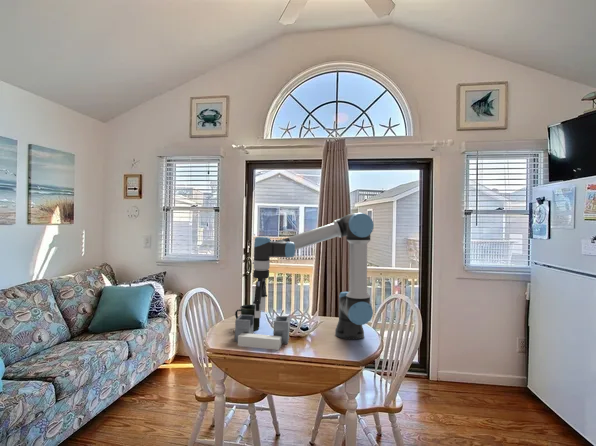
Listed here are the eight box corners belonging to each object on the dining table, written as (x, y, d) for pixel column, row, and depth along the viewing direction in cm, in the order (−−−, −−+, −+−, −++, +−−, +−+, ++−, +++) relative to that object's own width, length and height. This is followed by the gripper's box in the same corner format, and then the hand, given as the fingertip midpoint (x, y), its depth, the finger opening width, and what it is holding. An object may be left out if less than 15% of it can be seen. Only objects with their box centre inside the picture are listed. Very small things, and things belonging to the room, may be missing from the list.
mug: (255, 332, 187) (256, 310, 187) (230, 329, 191) (231, 307, 191) (263, 326, 197) (263, 305, 197) (239, 324, 201) (239, 303, 201)
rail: (281, 346, 167) (281, 336, 167) (278, 350, 162) (278, 339, 162) (241, 343, 171) (241, 332, 171) (237, 346, 166) (238, 336, 166)
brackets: (289, 336, 181) (289, 316, 181) (287, 343, 170) (288, 322, 170) (239, 334, 183) (240, 314, 183) (234, 341, 172) (235, 320, 172)
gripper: (258, 265, 179) (256, 307, 179) (248, 272, 154) (246, 320, 154) (272, 266, 179) (271, 307, 179) (265, 273, 154) (263, 321, 154)
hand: (260, 313), depth 166 cm, fingers open, 13 cm apart
